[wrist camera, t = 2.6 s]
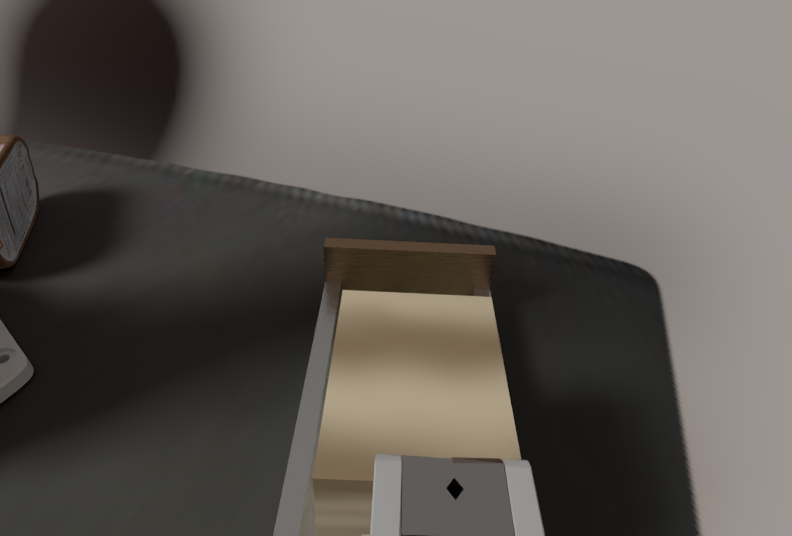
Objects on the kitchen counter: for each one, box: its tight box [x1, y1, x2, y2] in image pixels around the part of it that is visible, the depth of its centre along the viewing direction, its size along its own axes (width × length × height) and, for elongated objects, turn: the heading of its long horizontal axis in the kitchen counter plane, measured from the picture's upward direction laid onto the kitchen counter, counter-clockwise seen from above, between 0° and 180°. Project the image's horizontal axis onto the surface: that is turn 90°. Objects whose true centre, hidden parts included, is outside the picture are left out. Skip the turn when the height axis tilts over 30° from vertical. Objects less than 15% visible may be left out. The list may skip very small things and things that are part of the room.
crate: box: [312, 290, 521, 536], centre depth 26 cm, size 11×7×11 cm, turn 179°
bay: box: [273, 238, 496, 536], centre depth 33 cm, size 26×12×6 cm, turn 179°
